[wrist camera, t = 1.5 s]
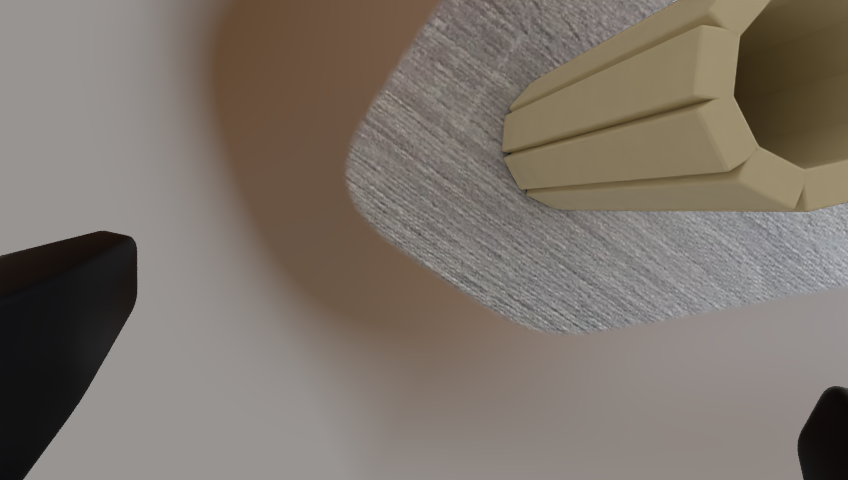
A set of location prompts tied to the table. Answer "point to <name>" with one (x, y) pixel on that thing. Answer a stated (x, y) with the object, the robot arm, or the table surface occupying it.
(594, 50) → the tube
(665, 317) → the table surface
